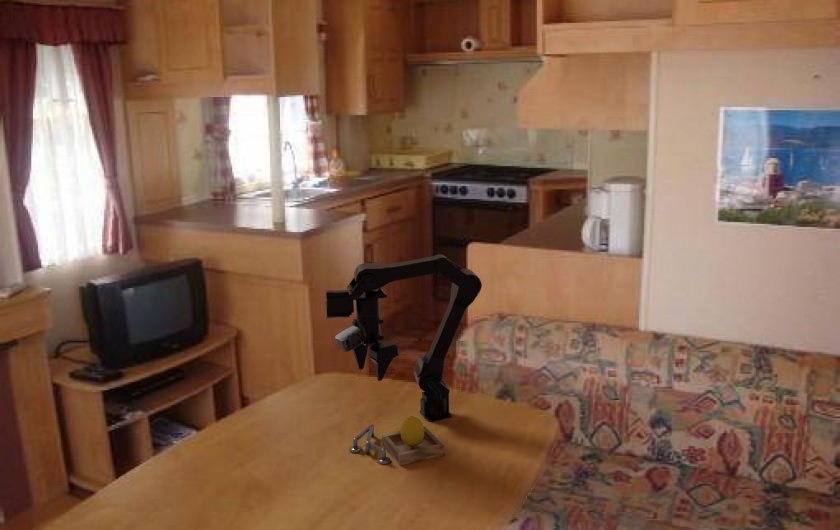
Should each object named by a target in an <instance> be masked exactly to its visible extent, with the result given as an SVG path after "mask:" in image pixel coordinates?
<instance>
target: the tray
mask: <svg viewBox="0 0 840 530" xmlns="http://www.w3.org/2000/svg"><path fill="white" fill-rule="evenodd" d="M423 426H424V438H423V440H422V442H421V443H420V444H419V445H417V446H415V447H414V448H412V447H410V446H408V445H406V444H405V443H404V442H403V440H402V438H401V430H400V431H399V430H398V431H394V432H389V433H385V434H382V435H381V444H382V445H381V446H382V448H385V449H386V452H388V454H389V455H390V456H391V457H392V458H393V460H394V461H396V463H397V464H398V465H399V466H404V465H409V464H412V463H413V464H414V463H418V462H422V461H425V460H430V459H434V458H439V457H442V456H445V445H444V443H443V442H441V441H440V440H439V438H437V436H436V435H434V434H433V433H432V432H431V430H429V429H428V428H427V427H426V426H425V425H423Z"/></svg>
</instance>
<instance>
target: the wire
mask: <svg viewBox="0 0 840 530" xmlns="http://www.w3.org/2000/svg"><path fill="white" fill-rule="evenodd" d="M366 434H367V438H366V440H365V454H366V455H367V456H369V455H371V449H374V450H376V451H377V452H380V453H381V456H379V457H378V458H377V459H376V460H377V462H376V463H378V464H380V465H388V464H390V463H391V461H392V460H391V457H390V456H387V450H386V449H385V448H384V447H383V446H379V445H377V444H375V443H372V442H371V439H372V438H374V437H375V424H373V423H370V424H369V425H368V426H367V427H366V428H364V429H363V430H362V431H361V432H360V433H357V435H355V437H353V438H352V444H353V445H351V446H350V447H349V448H348V452H350V453H351V452H352V453H353V454H357V453H361V452H362V451H363V447H362V446H360V445H359V444H358V443H359V442H358V441H359V440H360V439H362V437H364V436H365V435H366Z"/></svg>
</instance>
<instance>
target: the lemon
mask: <svg viewBox="0 0 840 530" xmlns="http://www.w3.org/2000/svg"><path fill="white" fill-rule="evenodd" d="M424 426H425V425H424V423H423V422H422V420H421V419H420V418H419V417H416V416H415V415H410V416H408V417H406V418H405V419H404V420H403V421H402V424H401V426H400V431H401V438H402V440H403V442H404V443H405V444H406V445H408V446H410V447H412V448H414V447H415V446H417V445H419V444H420V443H421V442H422V440H423V438H424Z"/></svg>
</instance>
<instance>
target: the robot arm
mask: <svg viewBox="0 0 840 530" xmlns="http://www.w3.org/2000/svg"><path fill="white" fill-rule="evenodd" d="M436 274H440V275H442V276H443V277H445V278H446V279H447V280H449V281H450V282H452V283H451V289H450V299H449V303H448V305H447V308H446V309H445V312H444V315H443V317H442V320H441V322H440V324H439V326H438V329H437V331H436V334H435V336H434V339H433V341H432V343H431V345H430V348H429V350H428V352H426V353H425V355H422V354H418V356H417V360H416V363H415V365H413V367H412V368H413V370H414V372H413V373H414V374H413V375H414V377H415V380H416V383H417V384H418V386H419V389H421V391H422V392H421V398H420V403H419V404H420V409H419V413H420V415H422V416H423V417H424V418H425V419H426V420H427V421H429V422H433V421H439V420H443V419H447V418H452V417H453V414H452V413H450V393H451V392H450V389H449V387H448V385H447V383H446V381H445V380H444V377H443V374H444V369H445V368H444V367H445V359H446V356H447V355H448V352H449V350H450V347H451V346H452V343H453V340H454V338H455V336H456V333H457V331H458V328H459V326H460V324H461V321H462V319H463V317H464V314H465V312H466V310H467V309H468V308H469V307H470V306H471V304H473V302H474V301H475V300H476V298H477V297H478V295H479V294H480V292H481V290H482V286H483V283H482V280H481V279H480V277H478V275H476V273H475V272H474V271H473V270H471V269H469V268H462V267H460V266H459V265H457V264H456V263H454V262H453V261H451V260H450V259H448V257H446V256H445V255H444V254H435V255H433V256H427V257H422V258H416V259H412V260H405V261H401V262H395V263H380V262H379V263H378V262H364V263H360V264H358V265H357V267H356V268H355V270H354V272H353V277H352V279H351V281H349V283H348V285H347V286H346V289H341V290H332V289H330V290H329V289H328V290H325V301H324V307H325V317H326V318H325V319H343V318H350V316H352V314H353V313H354V312H355V313H356V314H355V315H356V318H353V320H351V321H352V325H351V326H350V327H347V328H345V329H343V330H342V331H341V332H339V333H338V334H336V335H335V336H334V339H335V341H336V343H337V346H338V348H339V349H341V350H343V351H344V352H351V351H352V354H353V356H354V359H355V362H356V364H357V367H358V370H364V369H365V364H366V359H367V354H368V350H369V355H370V357H369V359H370V360H371V361H372V362H374V366H375V374H376V379H377V381H378V382H381V381H383V378H384V377H385V375H386V373H387V370H388V368H389V366H390V364H391V363H392V361H393V359H394V358H396V357H398V356H399V355H400V353H399V352H400V351H399V349H400V347H399V346H398V345H396V343H393V342H391V341H389V340H385V341H381V340H384V339H385V335H384V334H382V333H381V325H382V324H384V319H383V318H381V315H380V299H386V298H387V297H388V295H387V293H386V291H385V290H384V289H382V288H384V287H386V286H387V285H389V284H391V283H394V282H398V281H402V280H409V279H413V278H419V277H425V276H430V275H436ZM354 302H355V304H354ZM380 341H381V342H380Z"/></svg>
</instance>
